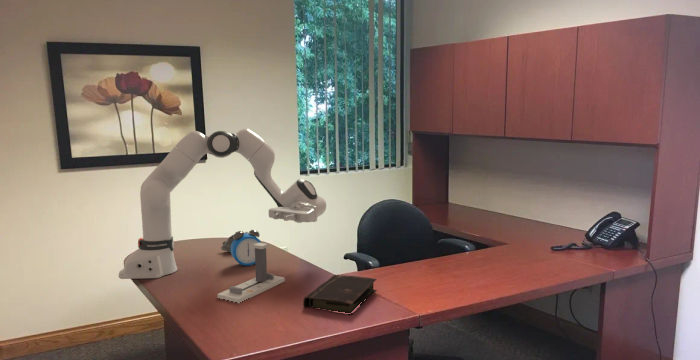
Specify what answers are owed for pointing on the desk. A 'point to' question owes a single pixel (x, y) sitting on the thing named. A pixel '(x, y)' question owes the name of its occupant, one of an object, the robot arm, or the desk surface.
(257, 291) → the console
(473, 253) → the desk surface
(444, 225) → the desk surface
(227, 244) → the mineral rock
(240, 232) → the alarm clock
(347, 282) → the diary
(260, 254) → the fader tab
